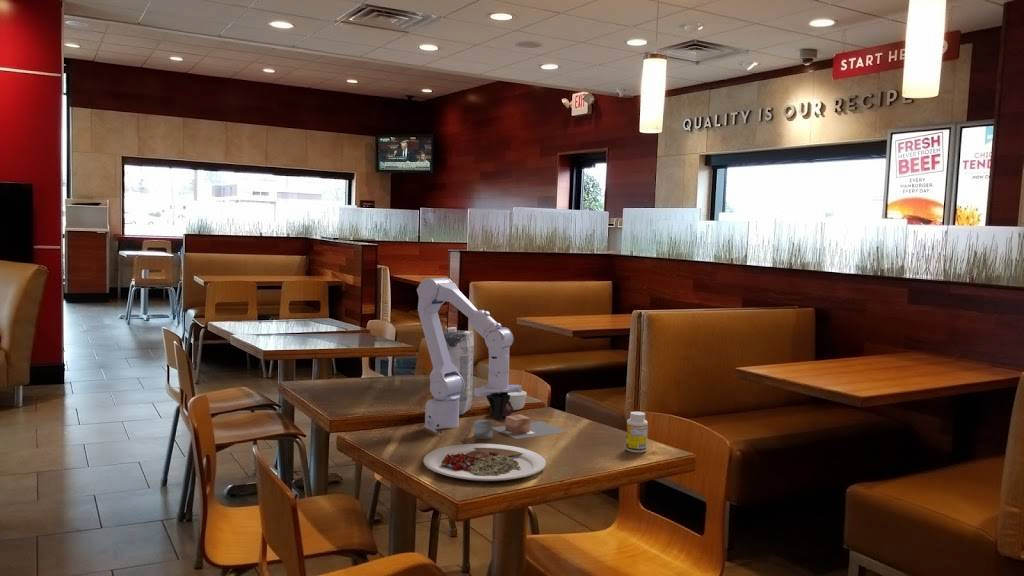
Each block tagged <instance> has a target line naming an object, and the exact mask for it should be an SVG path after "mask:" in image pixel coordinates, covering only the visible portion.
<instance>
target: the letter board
mask: <svg viewBox="0 0 1024 576" xmlns="http://www.w3.org/2000/svg"><path fill="white" fill-rule="evenodd" d="M492 430H494V431H497V432H499V433H502V434H503V435H507V436H508V437H510V438H513V439H516V440H519V439H528V438H532V437H534V438H535V437H541V436H547V435H549V436H550V435H556V434H562V433H569V431H568V430H565V429H563V428H560V427H556V426H555V425H552V424H549V423H546V422H544V421H532V422H531V421H530V432H527V433H519V434H514V433H511V432H509V431H507V430H506V425H499V426H493V429H492Z"/></svg>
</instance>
